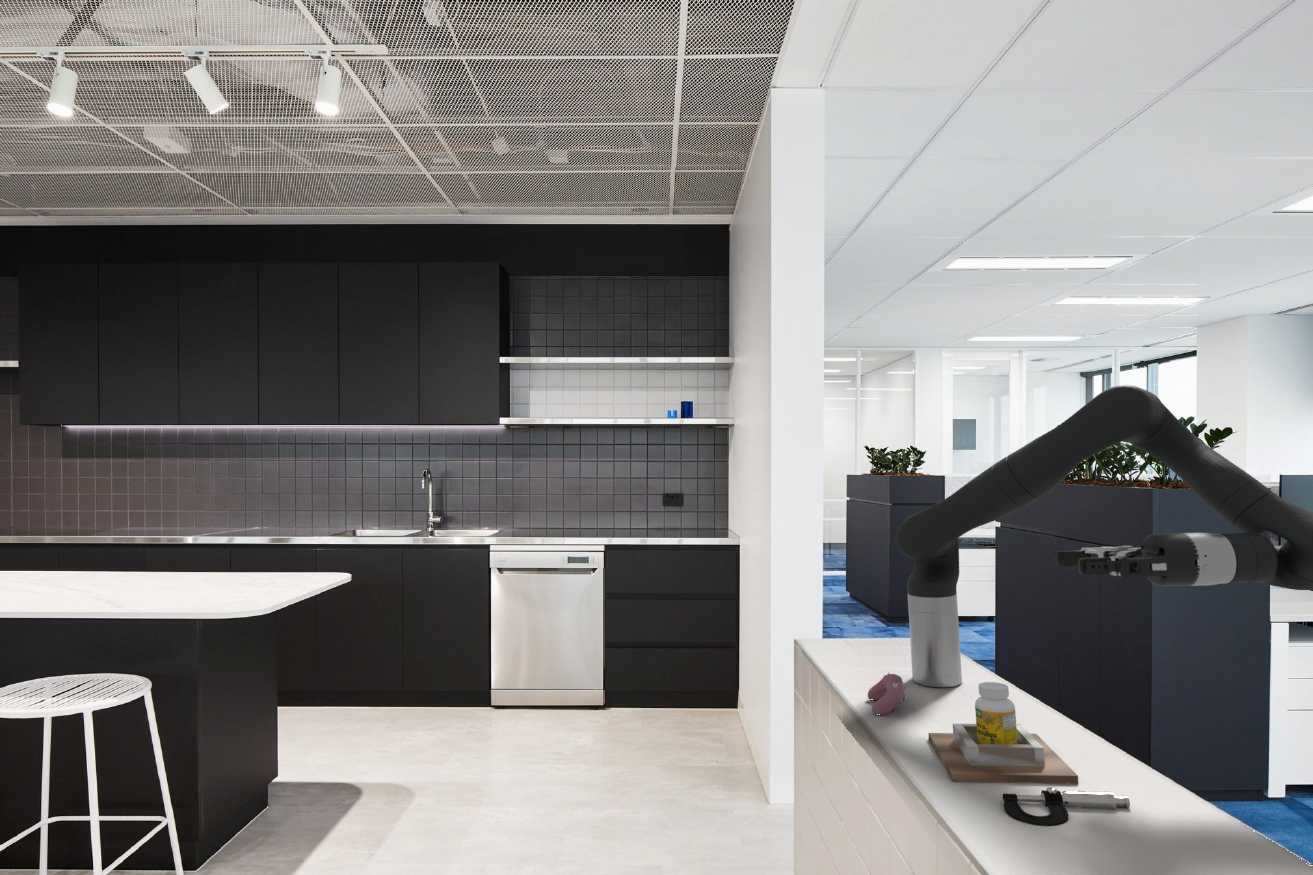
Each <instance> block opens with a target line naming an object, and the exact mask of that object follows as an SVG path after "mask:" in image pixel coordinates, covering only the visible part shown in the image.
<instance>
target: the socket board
mask: <svg viewBox="0 0 1313 875" xmlns="http://www.w3.org/2000/svg"><path fill="white" fill-rule="evenodd" d="M1016 727H1017V741H1018V745H1003V744H978V740H977V726H976V723H952V731H953V732H945V733H944V732H928V734H927V735H928V741H929V740H930V741H929V742H930V744H931V746H932V747H934V748H933V749H934V751H935V752H936V754H937V756H938V758H939V760H940V761H941V763H942V764H943V766H944V767H945V768H944V769H946V773H948V775H949V777H950V779H951V780H952V782H953V783H954V782H957V783H958V782H959V783H961V782H962V783H963V782H965V783H1016V784H1017V783H1024V784H1025V783H1029V784H1030V783H1032V784H1037V783H1038V784H1079V775H1078V774H1077V773H1076V772H1075V771H1074V770H1073V769H1072V768H1071V767H1070V766H1069V765H1068V764H1067V763H1066V762H1065V761H1064V760H1063V758H1061V757H1060V756H1059V755H1058V754H1057V753H1056V752H1055V751H1054V750H1053V749H1052V748H1051V747H1050V746H1049V744H1047V743H1046V741H1044V739H1042V738H1041V736H1040V735H1038V734H1037V733H1030V732H1029V731H1028V730H1027V729H1026V728H1025V727H1024V726H1023V725H1022V724H1021V723H1016Z"/></svg>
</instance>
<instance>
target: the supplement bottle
mask: <svg viewBox="0 0 1313 875" xmlns="http://www.w3.org/2000/svg"><path fill="white" fill-rule="evenodd" d="M978 694H979V696H980V697H978V698H977V699H975V702H974V708H975V722H976V723H975V724H976V726H977V740H978V744H1003V745H1018V741H1017V727H1016V724H1017V714H1016V707H1015V706H1016V705H1015V704H1014V702H1013V701H1012V700H1011V699H1009V696H1010V691H1009V686H1008V685H1007V684H1005V683H1002V682H995V681H986V682H985V681H984V682H980V683H979V684H978Z"/></svg>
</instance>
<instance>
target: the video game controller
mask: <svg viewBox="0 0 1313 875" xmlns="http://www.w3.org/2000/svg"><path fill="white" fill-rule="evenodd" d="M903 685H904V682H903V679H902V677H901V676H900V675H899V674H896V673H889V672H887V674H885V675H884V676H883V677H882V678H881V679H880V680H879V681H878V682H877V683H875V684H874V685H873V686H871V687H870V689H869V690H868V692H867V698H868V700H870V699H873V700H876V701H875V703H873V705H872V713H873V714H874V715H875V714H878V715H879V714H880V716H882V715H881V714H885V715H886V714H888V713H891V712H893V711H895V709H896V707H898V706H900V704H901V703H902V702H904V701H906V699H907V696H906V694H905V693H906V692H905V691H906V687H904V686H903Z"/></svg>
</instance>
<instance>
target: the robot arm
mask: <svg viewBox="0 0 1313 875" xmlns="http://www.w3.org/2000/svg"><path fill="white" fill-rule="evenodd" d="M1121 442H1122V443H1126V444H1130V445H1132V446H1134V447H1136V448H1138V449H1139V450H1142V451H1144V452H1146V453H1147V454H1148V455H1150V456H1152V457H1153V458H1155V459H1157V461H1159V462H1161V463H1162V464H1163V465H1165V466H1166V467H1167V468H1169V469H1170V470H1171V471H1172V472H1173V473H1175V475H1176V476H1177V477H1179V479H1181V480H1182V481H1183V483H1185V484H1186V485H1187V487H1188V488H1189V489H1191V490H1192V492H1193V493H1195V495H1196V496H1197V497H1198V498H1199V499H1201V500H1202V502H1204V503H1205V504H1207V506H1209V507H1210V508H1211V509H1212V510H1213V511H1214V512H1216V513H1217V514H1218V515H1219V516H1221V517H1222V518H1223V519H1225V520H1226V521H1227V522H1228V523H1230V524H1231V525H1232V526H1234V527H1235V528H1236V529H1237V530H1239V531H1240V532H1238V533H1237V532H1236V533H1235V532H1234V533H1212V532H1211V533H1210V532H1181V533H1180V532H1175V533H1151V534H1149V535H1147V536H1146V537H1144V540H1143V542H1142V545H1141V547H1134V546H1133V545H1121V546H1101V547H1088V546H1084V547H1081V548H1080V550H1058V551H1056V552H1055V563H1056V565H1058V566H1060V567H1077V568H1078V569H1077V570H1078V572H1079V574H1082V575H1105V574H1106V575H1111V576H1113V577H1116V576H1119V577H1123V578H1125V579H1126V578H1130V577H1131V578H1133V577H1135V578H1136V577H1138V578H1139V577H1146V578H1147V579H1148V580H1149V582H1150V583H1151V584H1153V585H1154V586H1156V587H1185V586H1186V587H1191V586H1192V587H1194V586H1195V587H1199V586H1200V587H1201V586H1203V587H1204V586H1213V585H1214V586H1215V585H1219V584H1249V583H1259V584H1263V585H1267V586H1271V587H1276V588H1277V587H1278V588H1282V589H1288V590H1295V591H1308V590H1309V591H1310V590H1311V591H1312V590H1313V511H1311V510H1308V509H1306V508H1305V507H1302V506H1300V505H1298V504H1295V503H1293V502H1290V501H1288V500H1286V499H1284V498H1282V497H1281V496H1279V495H1277V493H1276V492H1273V491H1272V490H1271V489H1270V488H1268V487H1267V486H1265V485H1264V484H1263V483H1262V482H1260V481H1259V480H1257V479H1256V478H1255V477H1253V476H1252V475H1250V474H1249V473H1248V472H1246V471H1245V470H1244V469H1242V468H1241V467H1239V466H1238V465H1236V464H1235V463H1233V462H1232V461H1230V460H1229V459H1227V457H1224V456H1223V455H1222V454H1220V453H1219V452H1217V451H1216V450H1214V449H1213V448H1211V447H1210V446H1209V445H1208V444H1206V443H1205V442H1203V441H1202V440H1201V439H1200V438H1198V436H1197V435H1195V434H1194V433H1193V432H1192V431H1190V430H1189V429H1188V428H1187V427H1186V426H1185V425H1184V424H1183V423H1182V422H1181V421H1180V420H1179V419H1178V418H1177V417H1176V415H1175V414H1173V413H1172V412H1171V411H1170V409H1168V407H1167V406H1166V405H1165V404H1164V403H1163V402H1162V401H1161V399H1160V398H1159V397H1158V396H1157V395H1156V394H1154V393H1152V392H1150V391H1148V390H1146V389H1144V388H1141V387H1139V386H1136V385H1131V384H1119V385H1115V386H1111V387H1109V388H1107V389H1104V390H1103V391H1102V392H1100V393H1099V394H1097V395H1096V396H1094V398H1092V399H1091V400H1090V401H1088V402H1087V403H1086V404H1085V405H1083V406H1082V407H1081V408H1080V409H1078V410H1077V411H1076V412H1075V413H1073V414H1072V415H1071V416H1069V417H1068V418H1067V419H1066V420H1064V421H1063V422H1061V423H1060V424H1059V425H1057V426H1056V427H1054V428H1052V429H1050V430H1049V431H1047V432H1046V433H1044V434H1042V435H1039V436H1038V437H1036V438H1034V439H1033V440H1031V441H1030V442H1028V443H1027V444H1025V445H1024V446H1022V447H1021V448H1019V449H1016V450H1015V451H1014V452H1012V453H1010V454H1008V455H1007V456H1005V457H1003V458H1002V459H1000V460H999V461H997V462H995V463H993V465H991V466H989V467H988V468H987V469H985V470H984V471H983V472H981V473H980V474H978V475H976V476H974V478H972V479H971V480H970V481H967V483H965V484H964V485H963V486H962V487H960V488H958V490H956V491H955V492H953V493H952V494H951V495H949V496H947V497H946V498H945V499H942V500H941V501H939V502H936V503H935V504H933V505H931V506H929V507H927V508H925V509H923V510H921V511H919V512H917V513H914V514H912V515H910V516H908V517H907V518H905V519H904V520H903V521H902V522H901V524H899V527H898V529H897V532H896V545H897V548H898V549H899V551H900V552H901V553H902V555H904V556H905V557H907V558H909V559H911V560H914V566H913V570H912V572H911V574H910V576H909V577H908V578H907V581H906V590H907V605H908V606H907V608H908V621H909V622H908V623H909V638H910V640H909V641H910V655H911V658H910V659H911V672H912V673H911V675H912V681H913V682H914V683H916V684H918V685H920V686H925V687H933V688H950V687H957V686H960V685H961V684H962V683H963V674H962V658H961V657H962V656H961V642H960V641H961V639H960V626H959V624H960V623H959V609H958V595H957V593H958V592H957V586H958V585H957V584H958V582H959V578H960V547H959V546H960V545H959V544H960V543H959V538H960V537H961V536H963V535H965V534H966V533H968V532H970V531H973V530H974V529H976V528H979V527H981V526H984V525H987V524H990V523H992V522H994V521H997V520H1000V519H1002V518H1005V517H1007V516H1010V515H1011V514H1014V513H1016V512H1018V511H1020V510H1022V509H1024V508H1026V507H1027V506H1029V505H1030V504H1033V503H1034V502H1036V501H1038V500H1039V499H1041V498H1043V497H1045V496H1046V495H1048V494H1049V493H1050V492H1052V491H1053V490H1054V489H1056V487H1058V485H1060V483H1061V482H1063V480H1065V479H1066V478H1067V477H1068V475H1069V474H1071V472H1072V471H1073V470H1074V469H1076V468H1077V466H1079V465H1080V464H1081V463H1083V462H1084V461H1085V460H1088V459H1090V458H1091V457H1093V456H1095V455H1097V454H1099V453H1100V452H1102V451H1104V450H1106V449H1108V448H1110V447H1112V446H1114V445H1116V444H1119V443H1121ZM1268 533H1270V534H1273V535H1276V536H1278V537H1280V538H1282V539H1284V540H1286V542H1284V544H1282V545H1278V546H1274V543H1273V542H1272V540H1270V539H1269V538H1267V537H1266V536H1264V535H1266V534H1268ZM1092 554H1095V555H1097V557H1092Z"/></svg>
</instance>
